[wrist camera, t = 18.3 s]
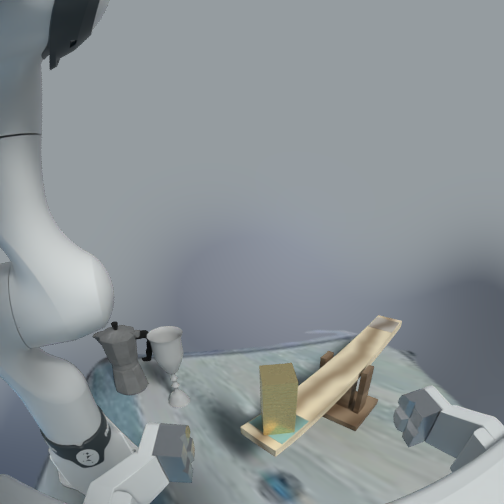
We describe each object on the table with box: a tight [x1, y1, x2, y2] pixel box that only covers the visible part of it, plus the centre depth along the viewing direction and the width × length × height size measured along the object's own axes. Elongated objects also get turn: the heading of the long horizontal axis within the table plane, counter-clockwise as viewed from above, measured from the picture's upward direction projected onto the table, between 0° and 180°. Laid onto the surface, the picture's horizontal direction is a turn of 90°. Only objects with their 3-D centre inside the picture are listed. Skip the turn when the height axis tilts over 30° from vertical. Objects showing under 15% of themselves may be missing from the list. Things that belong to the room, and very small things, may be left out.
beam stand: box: [320, 351, 378, 431], centre depth 50 cm, size 14×10×12 cm
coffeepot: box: [93, 322, 152, 395], centre depth 58 cm, size 15×9×18 cm, turn 100°
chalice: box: [147, 326, 190, 408], centre depth 54 cm, size 7×7×18 cm
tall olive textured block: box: [259, 363, 298, 435], centre depth 34 cm, size 4×4×10 cm
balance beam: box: [241, 315, 402, 457], centre depth 49 cm, size 7×49×2 cm, turn 134°
